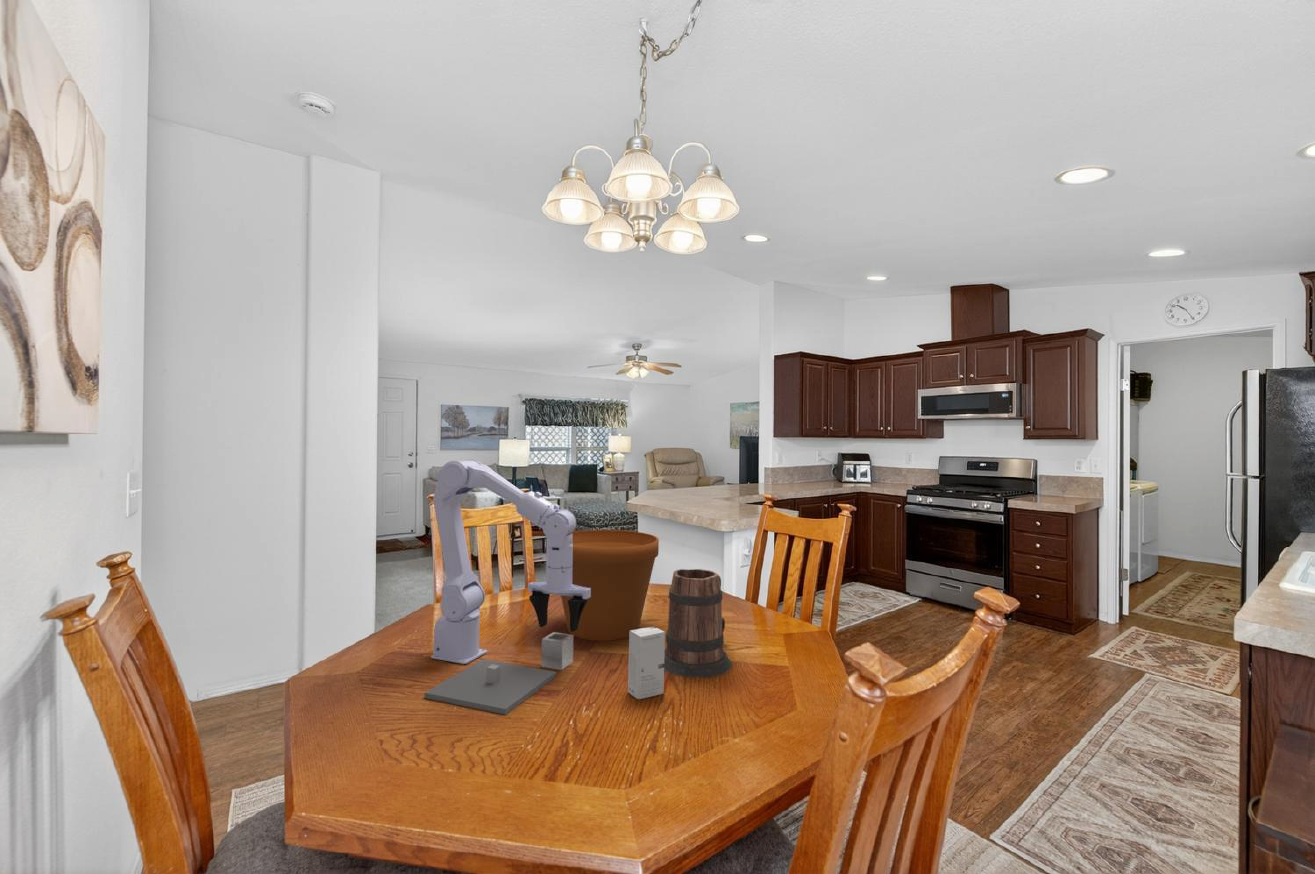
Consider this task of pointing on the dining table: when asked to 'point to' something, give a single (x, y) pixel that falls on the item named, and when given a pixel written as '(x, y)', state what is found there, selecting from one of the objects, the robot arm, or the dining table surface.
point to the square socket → (557, 650)
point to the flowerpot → (611, 581)
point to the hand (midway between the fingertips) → (558, 628)
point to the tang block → (491, 686)
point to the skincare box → (646, 662)
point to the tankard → (695, 625)
